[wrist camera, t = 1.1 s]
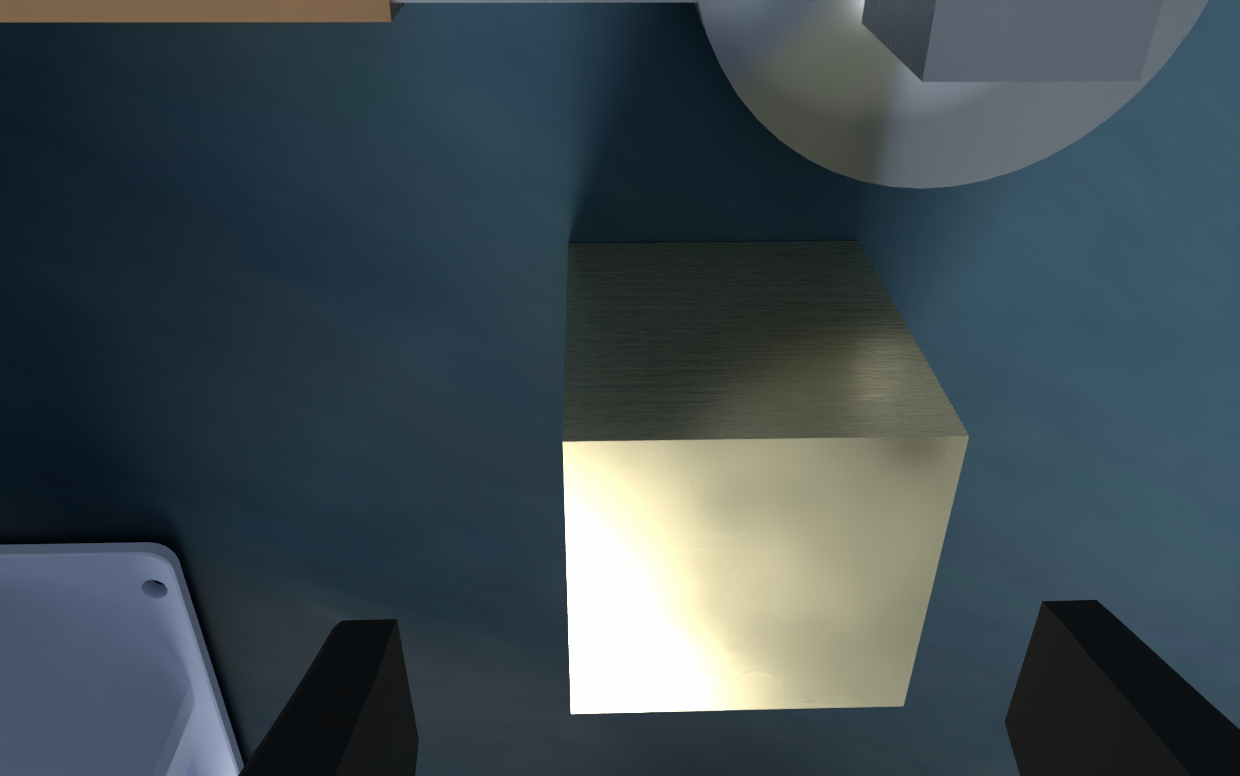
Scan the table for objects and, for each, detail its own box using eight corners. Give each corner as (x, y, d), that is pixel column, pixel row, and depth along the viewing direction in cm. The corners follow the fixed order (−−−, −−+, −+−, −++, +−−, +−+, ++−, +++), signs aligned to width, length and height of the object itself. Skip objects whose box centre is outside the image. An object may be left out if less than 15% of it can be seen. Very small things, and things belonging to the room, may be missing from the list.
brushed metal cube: (824, 471, 20) (903, 706, 15) (573, 475, 20) (571, 713, 15) (858, 241, 18) (968, 436, 13) (568, 243, 18) (562, 441, 12)
